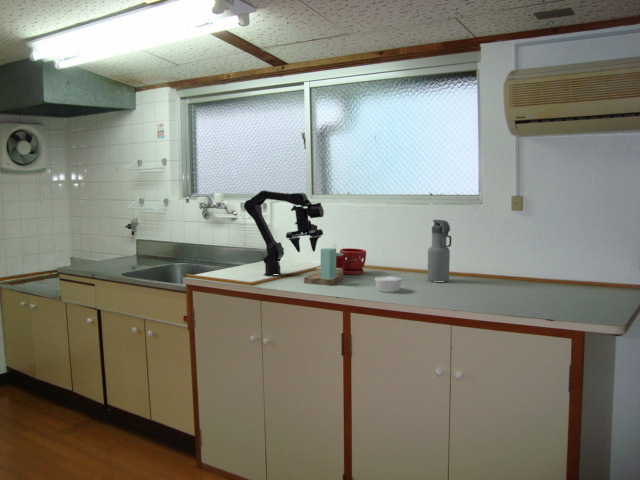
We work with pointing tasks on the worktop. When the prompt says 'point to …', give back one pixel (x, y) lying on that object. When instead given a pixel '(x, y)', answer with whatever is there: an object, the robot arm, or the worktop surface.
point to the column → (328, 263)
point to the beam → (338, 271)
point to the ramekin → (388, 283)
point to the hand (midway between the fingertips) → (306, 251)
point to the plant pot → (353, 260)
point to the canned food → (340, 261)
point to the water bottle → (439, 252)
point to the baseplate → (322, 280)
